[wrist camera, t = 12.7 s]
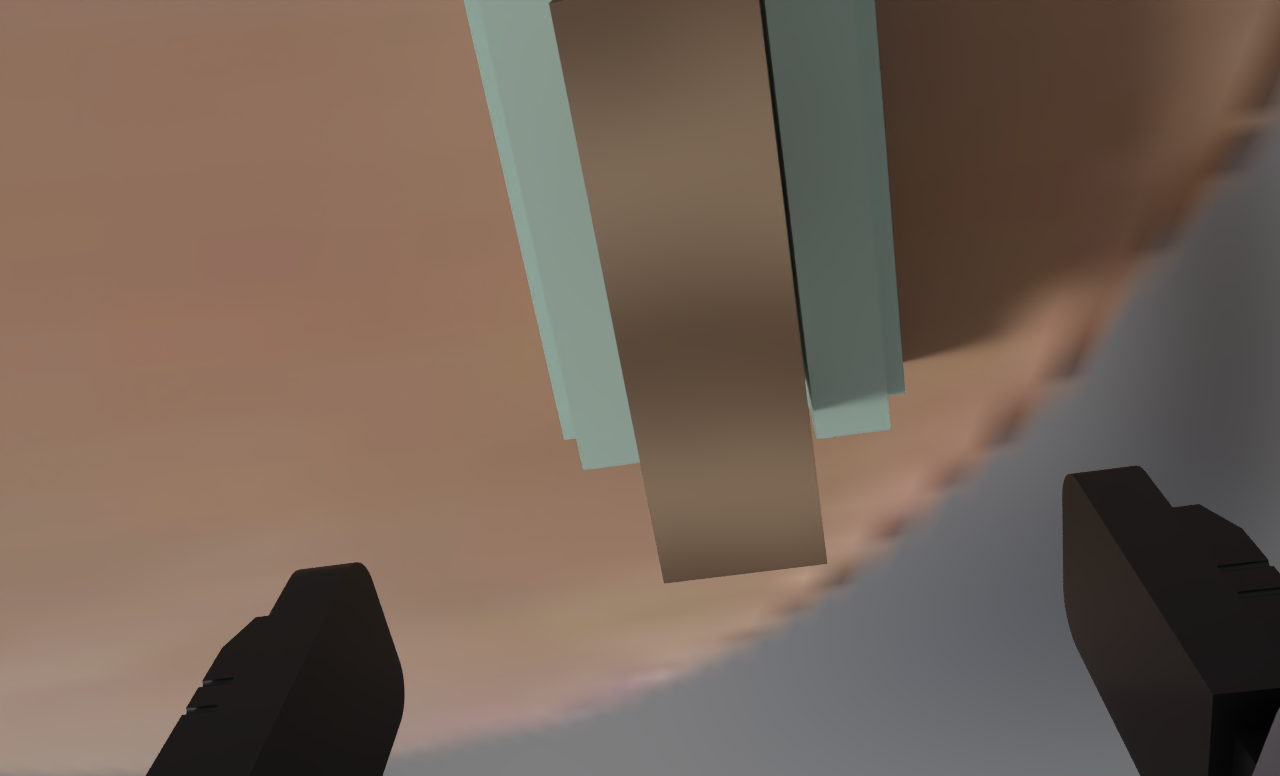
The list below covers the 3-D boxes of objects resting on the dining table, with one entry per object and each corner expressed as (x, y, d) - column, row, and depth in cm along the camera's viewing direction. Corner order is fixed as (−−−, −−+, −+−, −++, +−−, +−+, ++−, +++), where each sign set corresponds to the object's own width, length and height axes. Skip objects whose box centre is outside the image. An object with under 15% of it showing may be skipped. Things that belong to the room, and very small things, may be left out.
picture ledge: (464, -68, 28) (431, -59, 25) (851, -141, 27) (877, -143, 23) (571, 409, 34) (557, 473, 30) (893, 365, 33) (918, 425, 29)
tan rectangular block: (591, -37, 26) (549, 3, 18) (734, -64, 26) (755, -35, 18) (670, 400, 31) (664, 583, 23) (790, 383, 31) (827, 563, 23)
